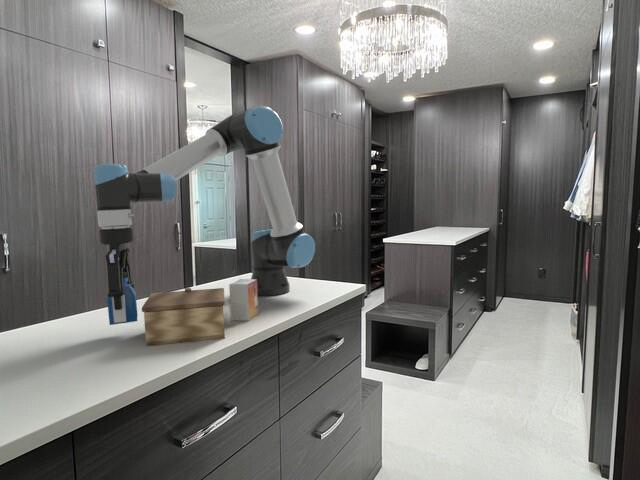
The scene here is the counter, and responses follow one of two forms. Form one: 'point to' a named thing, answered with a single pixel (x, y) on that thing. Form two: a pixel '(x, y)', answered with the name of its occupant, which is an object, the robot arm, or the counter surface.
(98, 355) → the counter surface
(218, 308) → the box
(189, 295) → the lid
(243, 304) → the small box
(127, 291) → the perfume bottle
